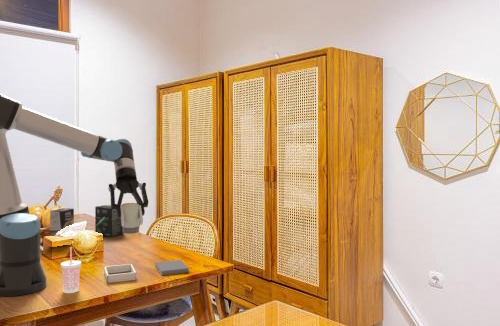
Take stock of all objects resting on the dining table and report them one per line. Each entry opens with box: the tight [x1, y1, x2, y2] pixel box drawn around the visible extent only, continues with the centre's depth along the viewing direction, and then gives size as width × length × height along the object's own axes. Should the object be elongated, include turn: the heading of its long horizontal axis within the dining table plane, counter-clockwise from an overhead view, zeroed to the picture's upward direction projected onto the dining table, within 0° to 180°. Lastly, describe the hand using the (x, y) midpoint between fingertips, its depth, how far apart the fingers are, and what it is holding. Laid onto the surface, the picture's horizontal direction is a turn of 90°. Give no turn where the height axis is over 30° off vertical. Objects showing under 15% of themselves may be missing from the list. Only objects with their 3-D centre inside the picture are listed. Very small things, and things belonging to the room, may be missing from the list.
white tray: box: [103, 263, 137, 284], centre depth 149 cm, size 10×11×2 cm
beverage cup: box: [60, 246, 82, 294], centre depth 134 cm, size 6×6×14 cm
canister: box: [121, 202, 140, 235], centre depth 150 cm, size 6×6×10 cm
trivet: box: [154, 259, 190, 276], centre depth 159 cm, size 10×12×2 cm
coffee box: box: [49, 207, 75, 237], centre depth 193 cm, size 9×6×16 cm
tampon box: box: [94, 204, 125, 238], centre depth 215 cm, size 11×9×15 cm
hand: (132, 222), depth 147 cm, fingers closed on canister, 6 cm apart
